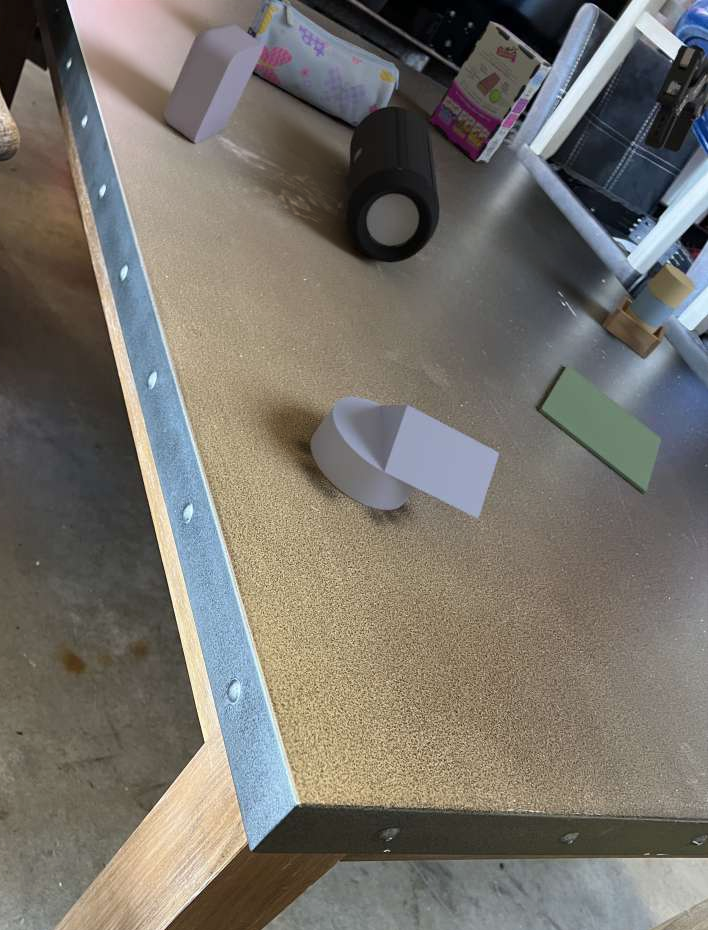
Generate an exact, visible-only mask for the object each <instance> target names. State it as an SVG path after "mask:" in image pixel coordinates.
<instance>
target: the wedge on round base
mask: <svg viewBox="0 0 708 930" xmlns="http://www.w3.org/2000/svg"><path fill="white" fill-rule="evenodd" d="M310 452H311V456H312V458H313V460H314V462H315V464H316V465H317V468H318V469H319V470H320V472H321V473H322V475H324V476H325V478H326V479H327V480H328V481H329V482H330V483H331V484H332V485H333V486H334V487H335V488H337V489H338V491H340V492H341V493H343V494H344V495H345V496H346V497H349V498H350V499H352V500H353V501H356V502H358V503H359V504H362V505H364V506H366V507H369V508H372V509H376V510H382V511H391V510H392V511H393V510H396V509H399V508H400V507H402V506H403V505H404V504H405V503H406V501H407V500H408V499H409V498H410V497H411V496H412V494H413V493H414V492H415V490H416V489H417V490H419V491H422V492H424V493H426V494H428V495H430V496H432V497H434V498H436V499H438V500H439V501H441V502H444V503H445V504H448V505H450V506H452V507H454V508H456V509H458V510H460V511H462V512H464V513H465V514H468V515H470V516H472V517H474V518H476V519H479V518H480V515H481V512H482V509H483V506H484V502H485V499H486V496H487V493H488V490H489V487H490V484H491V481H492V478H493V475H494V472H495V468H496V465H497V463H498V459H499V456H500V452H499V451H496V450H494V449H492V448H491V447H489V446H487V445H485V444H483V443H481V442H480V441H478V440H476V439H473V438H472V437H470V436H468V435H466V434H464V433H462V432H461V431H458V430H456V429H455V428H453V427H451V426H449V425H447V424H445V423H443V422H441V421H439V420H437V419H436V418H434V417H432V416H430V415H429V414H426V413H424V412H423V411H420V410H419V409H417V408H414V407H413V406H411V405H409V404H385V405H383V404H382V405H381V404H379V403H378V402H375V401H373V400H370V399H367V398H364V397H360V396H345V397H342V398H339V399H338V400H337V401H336V402H335V403H334V405H332V407H331V409H330V410H329V412H328V413H327V414H326V416H325V417H324V419H323V420H322V422H321V423H320V424H319V426H318V427H317V429H316V430H315V432H313V435H312V436H311V438H310ZM374 506H375V507H374ZM378 507H379V508H378ZM385 508H386V509H385ZM390 508H391V509H390Z"/></svg>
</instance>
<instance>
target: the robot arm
mask: <svg viewBox="0 0 708 930" xmlns="http://www.w3.org/2000/svg"><path fill="white" fill-rule="evenodd" d="M692 4H693V2H692V3H691V5H692ZM655 102H656V103H657V112H656V115H655V117H654V119H653V121H652V123H651V125H650V128H649V131H648V133H647V135H646V137H645V139H644V144H645V145H646V146H647V147H651V148H654V149H656V150H662V149H666V150H668V151H670V152H671V151H672V152H674V153H679V152H680V151H682V149H683V147H684V145H685V142H686V141H687V138H688V136H689V133H690V132H691V130H692V127H693V126H694V123H695V121H698V119H700V118H701V117H703V116H704V115H705V114H706V112H707V110H708V59H707V54H706V53H705V52H704V50H703V49H702V48H700V47H698V46H697V45H692V44H690V46H688V45H684V44H681V45H680V47H679V48H678V50H677V53H676V55H675V58H674V59H673V61H672V64H671V66H670V69H669V70H668V73H667V74H666V77H665V79H664V81H663V83H662V85H661V87H660V89H659V92H658V94H656V99H655Z"/></svg>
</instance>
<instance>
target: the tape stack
mask: <svg viewBox="0 0 708 930" xmlns="http://www.w3.org/2000/svg"><path fill="white" fill-rule="evenodd" d="M695 289H696V284H695V282H693V280H692V279H691V278H689V276H688V275H687V274H686V273H684V272H683V271H682V270H681V269H679V268H678V267H676V266H674V265H673V264H669V263H665V264H664V265H663V266H662V268H660V270H659V271H658V272H657V273H656V275H654V277H653V278H652V279H651V280H650V281H649V282H648V284H647V285H646V286H645V287H644V288H643V289H642V291H640V293H639V294H638V295H637V296H636V297H635V299H634V300H632V303H631V304H630V305H629V306H628V308H627V309H626V310H625V311H624V312H625V313H626V314H627V315H629V316H630V317H631V318H633V319H634V320H635V321H636V322H638V323H639V324H640V325H642V326H643V327H644V328H645V329H647V330H648V331H649V332H650V333H652V334H653V333H654V332H655V331H656V330H657V329H658V328H659V327H660V326H661V325H663V324H664V323H665V322H666V321H667V320H668V318H669V317H671V315H672V314H673V313H674V312H675V311H677V309H678V308H679V307H680V305H681V304H683V302H684V301H685V300H686V299H687V298H688V297H689V296H690V295H691V294H692V292H693V291H694V290H695Z"/></svg>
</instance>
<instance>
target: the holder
mask: <svg viewBox="0 0 708 930" xmlns="http://www.w3.org/2000/svg"><path fill="white" fill-rule="evenodd" d="M632 302H633V300H632V299H630V298H628V296H626V295H623V296H622V298H620V300H619V301H618V302H617V303H616V305H615V306H614V307H613V308H612V309H611V310H610V312H609V313H608V315H607V316H606V318H605V320H604V322H603V323H602V325H601V327H602V328H604V329H606V330H607V331H608V332H609V333H610V334H612V335H613V336H614V337H616V338H617V339H618V340H620V341H621V342H622V343H624V345H626V346H627V347H628V348H630V349H631V350H633V352H634V353H636V354H637V355H638V356H640V357H641V358H642V359H644V360H646V359H647V358H648V357H649V356H650V355H651V354H652V353H653V352H654V350H656V348H658V346H659V345H661V343H662V342H663V338H664V336H665V333H666V330H667V327H666V326H664V325H663V324H662V325H661V326H660V327H659V328H658V329H657V330H656V331H655V332H654V333H653V334H652V333H650V332H649V331H648V330H647V329H645V328H644V327H643V326H642V325H640V324H639V323H638V322H636V321H635V320H634V319H633V318H631V317H630V316H629V315H627V314H626V313H625V312H624V311H625V310H626V309H627V308H628V306H629V305H630V304H631V303H632Z"/></svg>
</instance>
